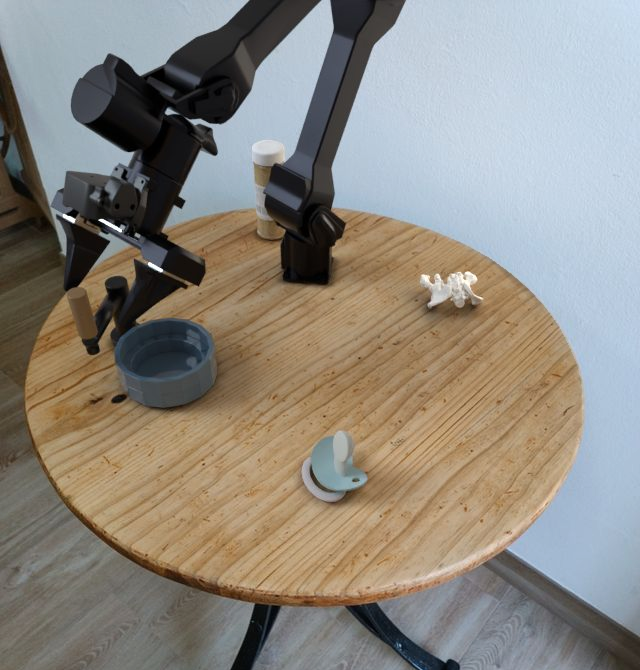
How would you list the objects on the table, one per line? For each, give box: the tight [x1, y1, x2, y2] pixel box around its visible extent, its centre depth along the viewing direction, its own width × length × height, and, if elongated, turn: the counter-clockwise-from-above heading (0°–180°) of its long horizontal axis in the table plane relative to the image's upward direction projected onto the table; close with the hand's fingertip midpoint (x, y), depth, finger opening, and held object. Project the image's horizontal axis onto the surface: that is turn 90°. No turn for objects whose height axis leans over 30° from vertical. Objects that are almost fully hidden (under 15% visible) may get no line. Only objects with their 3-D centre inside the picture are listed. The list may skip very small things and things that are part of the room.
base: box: [109, 322, 141, 348], centre depth 86 cm, size 4×4×1 cm
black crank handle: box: [66, 275, 138, 356], centre depth 78 cm, size 11×3×12 cm, turn 172°
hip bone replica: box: [419, 271, 484, 309], centre depth 92 cm, size 8×4×7 cm
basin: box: [113, 317, 218, 409], centre depth 80 cm, size 11×11×4 cm
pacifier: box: [301, 430, 368, 503], centre depth 70 cm, size 7×6×6 cm
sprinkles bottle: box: [251, 139, 286, 241], centre depth 99 cm, size 5×5×13 cm
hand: (93, 308), depth 73 cm, fingers open, 9 cm apart
